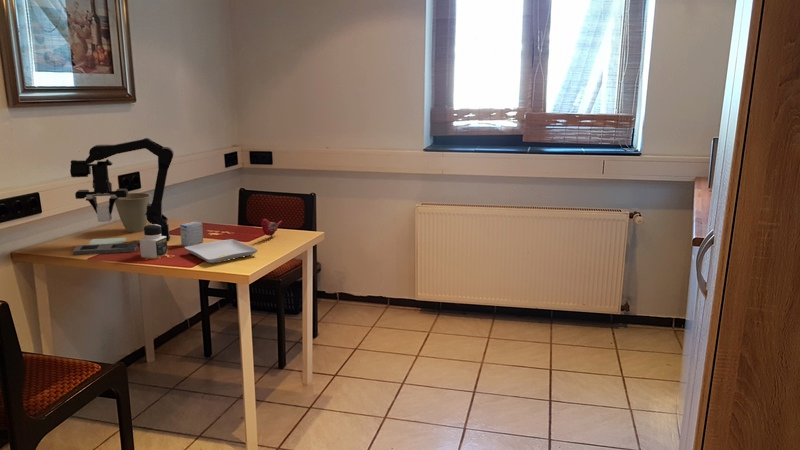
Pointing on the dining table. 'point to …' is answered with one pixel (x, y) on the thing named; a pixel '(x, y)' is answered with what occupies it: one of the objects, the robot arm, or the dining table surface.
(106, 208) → the steel peg
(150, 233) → the medicine bottle
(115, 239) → the sage mat
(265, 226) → the decorative bird figurine
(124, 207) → the plant pot
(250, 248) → the salad plate
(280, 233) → the dining table surface
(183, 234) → the medicine box
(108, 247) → the grey flat frame
